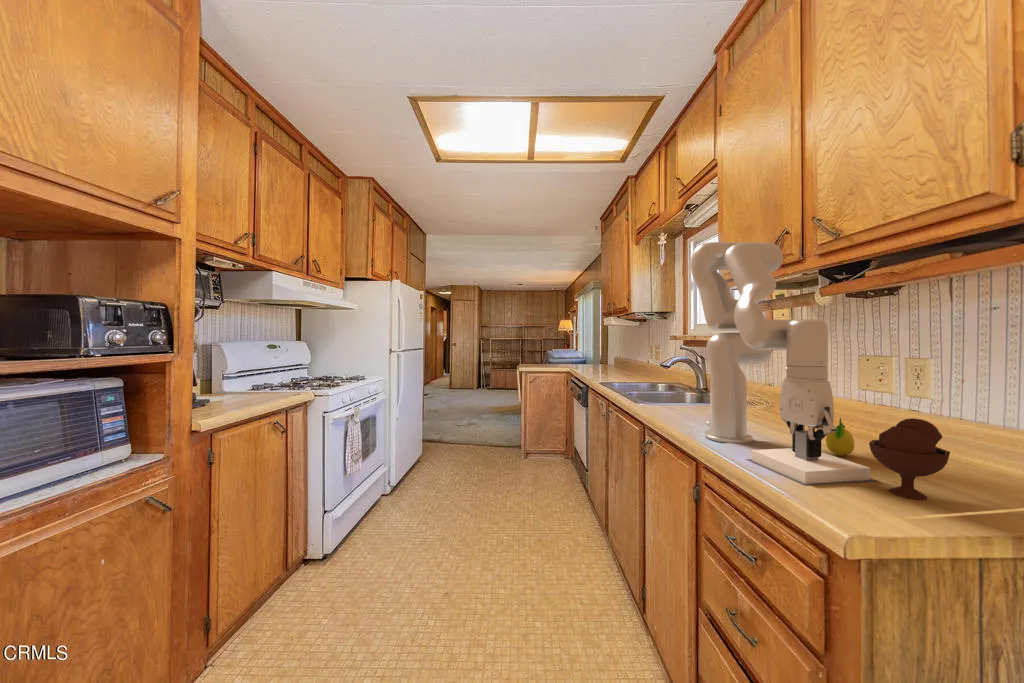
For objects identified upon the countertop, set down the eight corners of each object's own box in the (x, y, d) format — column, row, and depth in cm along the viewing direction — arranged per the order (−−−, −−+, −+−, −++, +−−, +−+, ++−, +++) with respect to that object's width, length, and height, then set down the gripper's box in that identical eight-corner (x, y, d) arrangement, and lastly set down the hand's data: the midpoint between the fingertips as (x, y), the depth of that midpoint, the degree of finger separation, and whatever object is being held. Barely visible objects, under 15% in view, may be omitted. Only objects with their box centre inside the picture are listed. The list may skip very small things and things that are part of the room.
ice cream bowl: (887, 482, 81) (887, 410, 81) (964, 503, 71) (964, 421, 71) (856, 489, 78) (856, 415, 77) (932, 513, 67) (933, 427, 67)
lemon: (840, 452, 102) (841, 414, 101) (863, 460, 96) (863, 419, 96) (817, 453, 101) (817, 415, 101) (838, 461, 95) (838, 420, 95)
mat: (745, 460, 96) (745, 459, 96) (807, 457, 98) (807, 456, 98) (805, 487, 79) (805, 485, 79) (878, 483, 81) (878, 481, 81)
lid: (751, 460, 95) (751, 425, 95) (807, 457, 97) (807, 423, 97) (805, 483, 80) (805, 442, 80) (870, 479, 82) (870, 439, 82)
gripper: (764, 370, 96) (764, 445, 96) (824, 377, 80) (824, 467, 80) (791, 370, 97) (791, 443, 97) (857, 377, 80) (857, 465, 81)
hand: (806, 453), depth 88 cm, fingers closed on lid, 3 cm apart
